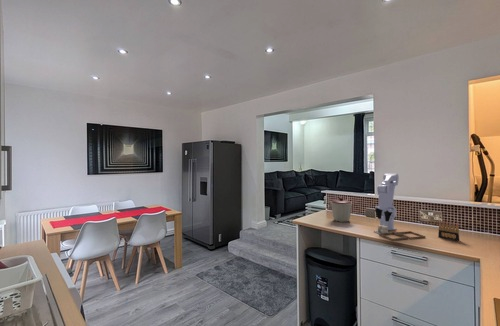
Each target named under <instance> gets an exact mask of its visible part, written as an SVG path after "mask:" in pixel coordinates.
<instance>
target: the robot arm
mask: <svg viewBox="0 0 500 326" xmlns="http://www.w3.org/2000/svg"><path fill="white" fill-rule="evenodd" d="M382 177H383V180H382V181H381V183H380V184H379V185H377V187H376V190H377V195H378V205H375V206H374V212H375V213H376V216H377V219H378V220H379V225H384V226H387V227H388V231H394V230H395V231H396V230H397V228H395V226H394V225H395V223H394V222H395V218H396V217H397V208H396V207H395V206H394V205H393V204H394V198H395V188H396V186H398V184H399V174H398V173H384V174H383V176H382Z"/></svg>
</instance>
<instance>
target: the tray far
mask: <svg viewBox="0 0 500 326" xmlns="http://www.w3.org/2000/svg"><path fill="white" fill-rule="evenodd" d="M395 233H396V234H399V235H402V236H405V237H407V238H408V240H417V239H426V235H423V234H421V233H418V232H417V233H416V232H414V231H410V230H407V231H397V232H395ZM405 234H412V235H415V236H408V235H405Z"/></svg>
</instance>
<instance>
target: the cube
mask: <svg viewBox="0 0 500 326" xmlns="http://www.w3.org/2000/svg"><path fill="white" fill-rule="evenodd" d="M377 231H378V232H380V233H388V232H389V230H388V227H387V226H384V225H380V224H379V225H377Z"/></svg>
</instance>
